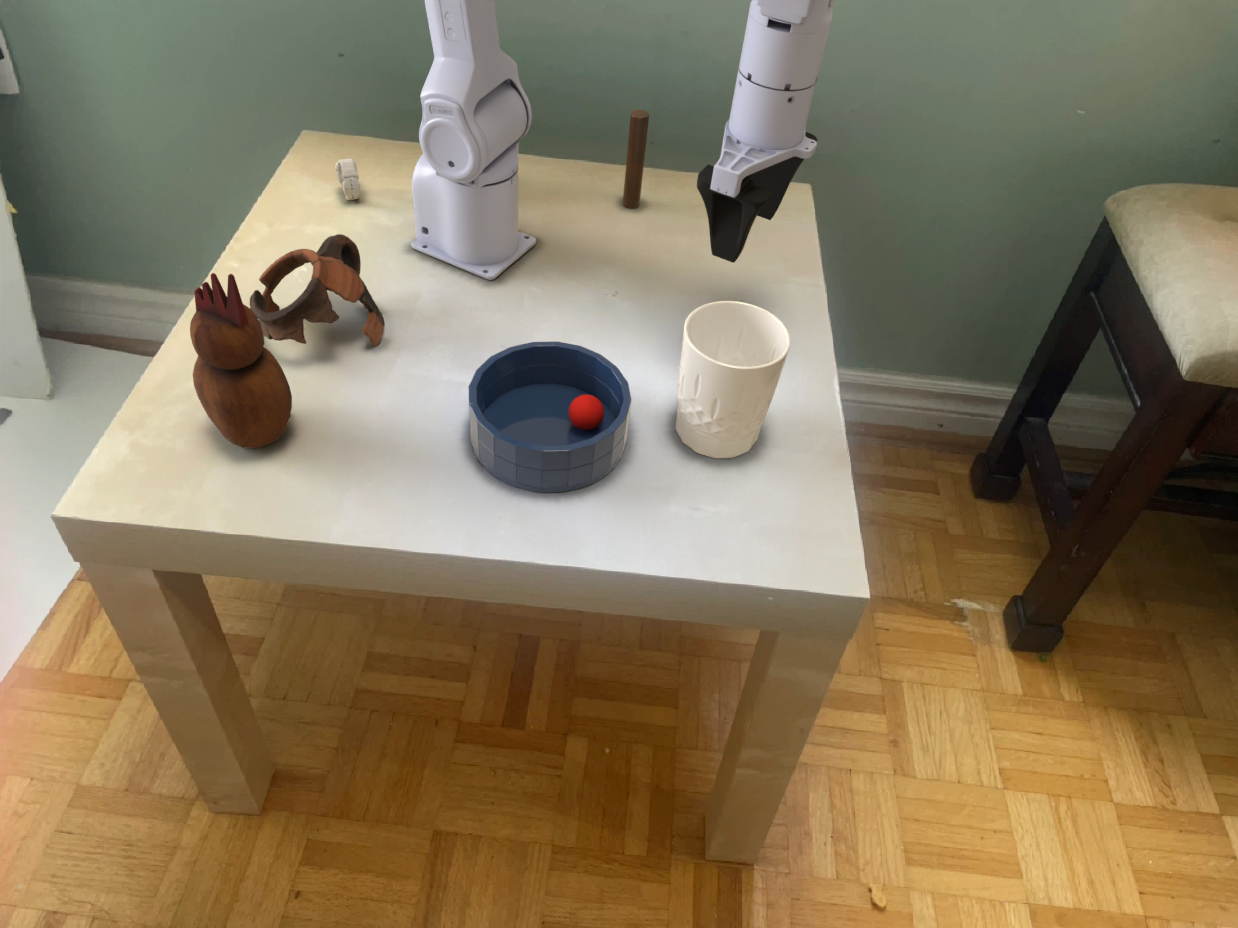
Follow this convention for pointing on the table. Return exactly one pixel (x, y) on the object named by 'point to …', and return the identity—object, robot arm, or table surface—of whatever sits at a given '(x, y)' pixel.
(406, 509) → the table surface
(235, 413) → the wooden figurine
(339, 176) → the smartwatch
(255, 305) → the brown curved pieces
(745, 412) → the white cup
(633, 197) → the stick
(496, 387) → the bowl
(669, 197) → the table surface
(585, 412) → the red ball
